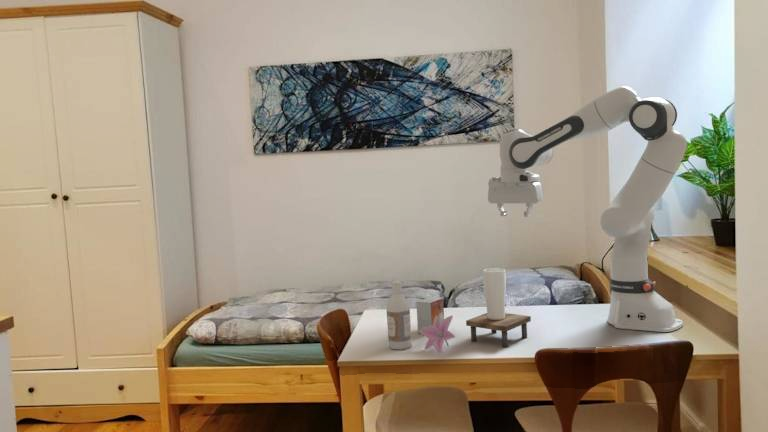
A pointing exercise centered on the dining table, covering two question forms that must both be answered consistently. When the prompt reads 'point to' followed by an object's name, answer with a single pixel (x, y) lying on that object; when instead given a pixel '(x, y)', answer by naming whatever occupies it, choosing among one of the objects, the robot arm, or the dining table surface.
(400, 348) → the bath foam
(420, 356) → the dining table surface
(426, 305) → the small box
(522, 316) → the shelf stand
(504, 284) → the white tall cup
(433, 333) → the lily
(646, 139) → the robot arm
